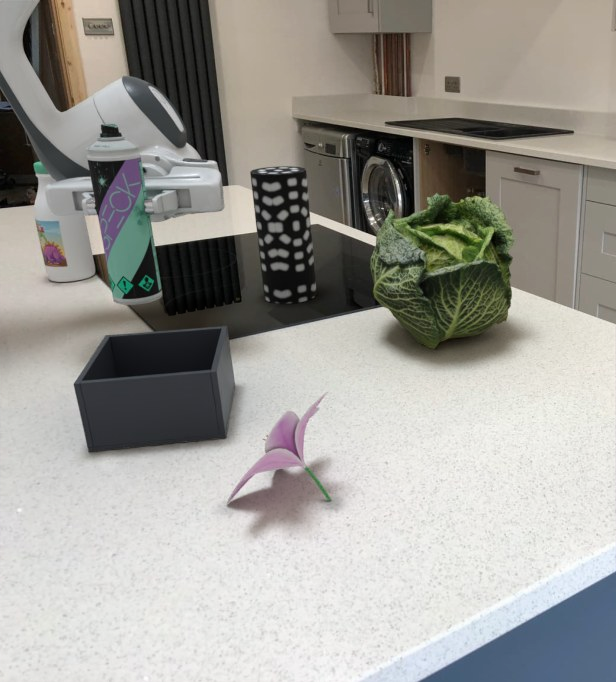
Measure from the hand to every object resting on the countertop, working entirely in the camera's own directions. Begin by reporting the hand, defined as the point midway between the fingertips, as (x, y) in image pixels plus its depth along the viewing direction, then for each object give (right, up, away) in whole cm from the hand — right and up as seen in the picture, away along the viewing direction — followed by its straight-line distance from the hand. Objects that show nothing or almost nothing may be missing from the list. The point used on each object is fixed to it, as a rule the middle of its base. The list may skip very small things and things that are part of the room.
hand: (120, 207), depth 83 cm
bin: (+7, -23, -3) cm, 24 cm away
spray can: (0, -10, +5) cm, 11 cm away
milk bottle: (-30, -4, +47) cm, 56 cm away
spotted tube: (+11, -8, +36) cm, 39 cm away
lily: (+23, -29, -17) cm, 40 cm away
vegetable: (+36, -14, +20) cm, 44 cm away
